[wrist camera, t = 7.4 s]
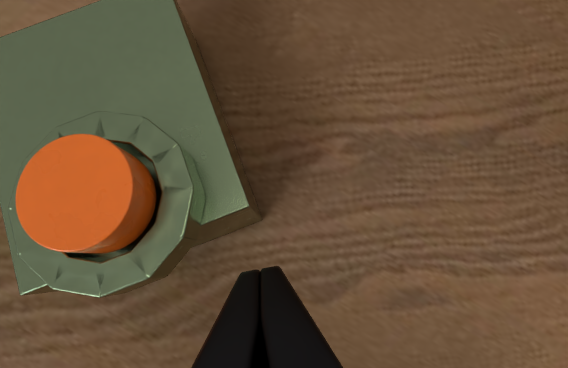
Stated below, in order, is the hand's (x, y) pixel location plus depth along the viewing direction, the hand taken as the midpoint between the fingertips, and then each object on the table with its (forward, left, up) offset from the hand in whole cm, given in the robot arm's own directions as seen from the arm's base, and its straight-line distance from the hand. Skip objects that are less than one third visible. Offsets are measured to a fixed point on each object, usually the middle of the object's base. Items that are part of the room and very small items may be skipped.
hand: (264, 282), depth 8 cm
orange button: (+2, +7, -5) cm, 9 cm away
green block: (+5, +9, -12) cm, 16 cm away
